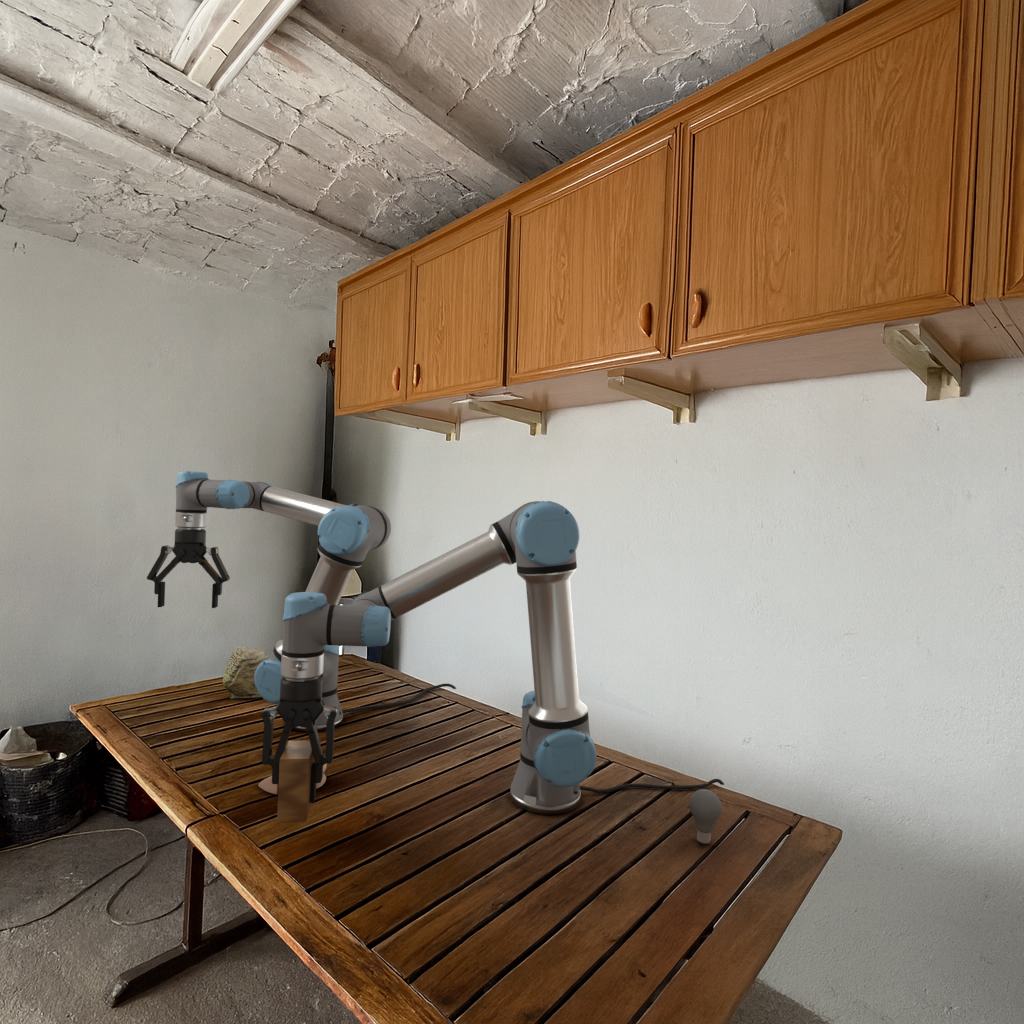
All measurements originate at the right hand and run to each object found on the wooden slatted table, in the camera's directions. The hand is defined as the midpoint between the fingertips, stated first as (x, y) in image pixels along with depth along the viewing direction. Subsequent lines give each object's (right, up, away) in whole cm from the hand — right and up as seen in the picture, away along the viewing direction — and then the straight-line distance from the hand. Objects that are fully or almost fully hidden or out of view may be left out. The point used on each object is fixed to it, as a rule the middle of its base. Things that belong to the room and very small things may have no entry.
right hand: (296, 799), depth 118 cm
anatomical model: (-8, -6, +21) cm, 23 cm away
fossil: (-40, -3, +80) cm, 89 cm away
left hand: (-47, +28, +53) cm, 76 cm away
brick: (0, -2, 0) cm, 2 cm away
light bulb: (+77, -10, +4) cm, 78 cm away
